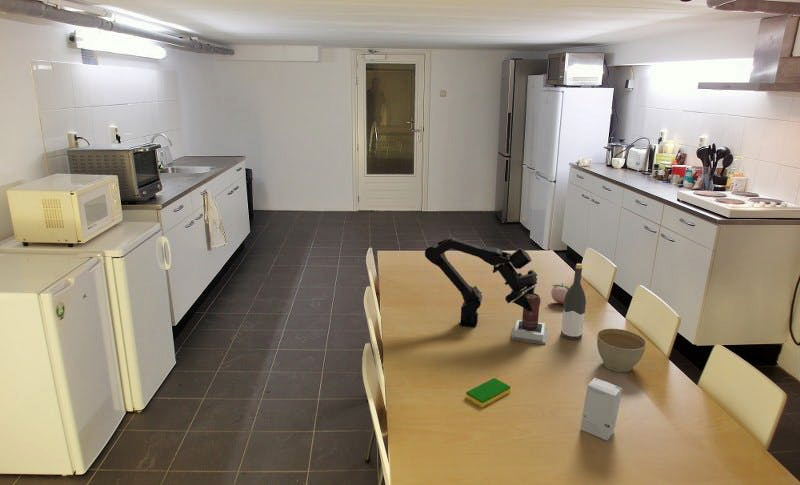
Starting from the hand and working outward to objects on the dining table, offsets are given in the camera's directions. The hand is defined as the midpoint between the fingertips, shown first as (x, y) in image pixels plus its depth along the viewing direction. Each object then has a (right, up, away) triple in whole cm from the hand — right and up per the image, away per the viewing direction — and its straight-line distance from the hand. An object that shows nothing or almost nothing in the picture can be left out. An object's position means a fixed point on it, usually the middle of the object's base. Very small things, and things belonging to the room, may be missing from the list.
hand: (534, 308), depth 210 cm
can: (-1, -8, +4) cm, 9 cm away
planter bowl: (+25, -18, -19) cm, 36 cm away
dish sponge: (-24, -24, -37) cm, 50 cm away
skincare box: (+5, -29, -55) cm, 62 cm away
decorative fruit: (+21, -2, +35) cm, 41 cm away
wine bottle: (+16, -11, +4) cm, 20 cm away
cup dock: (-1, -11, +4) cm, 12 cm away
